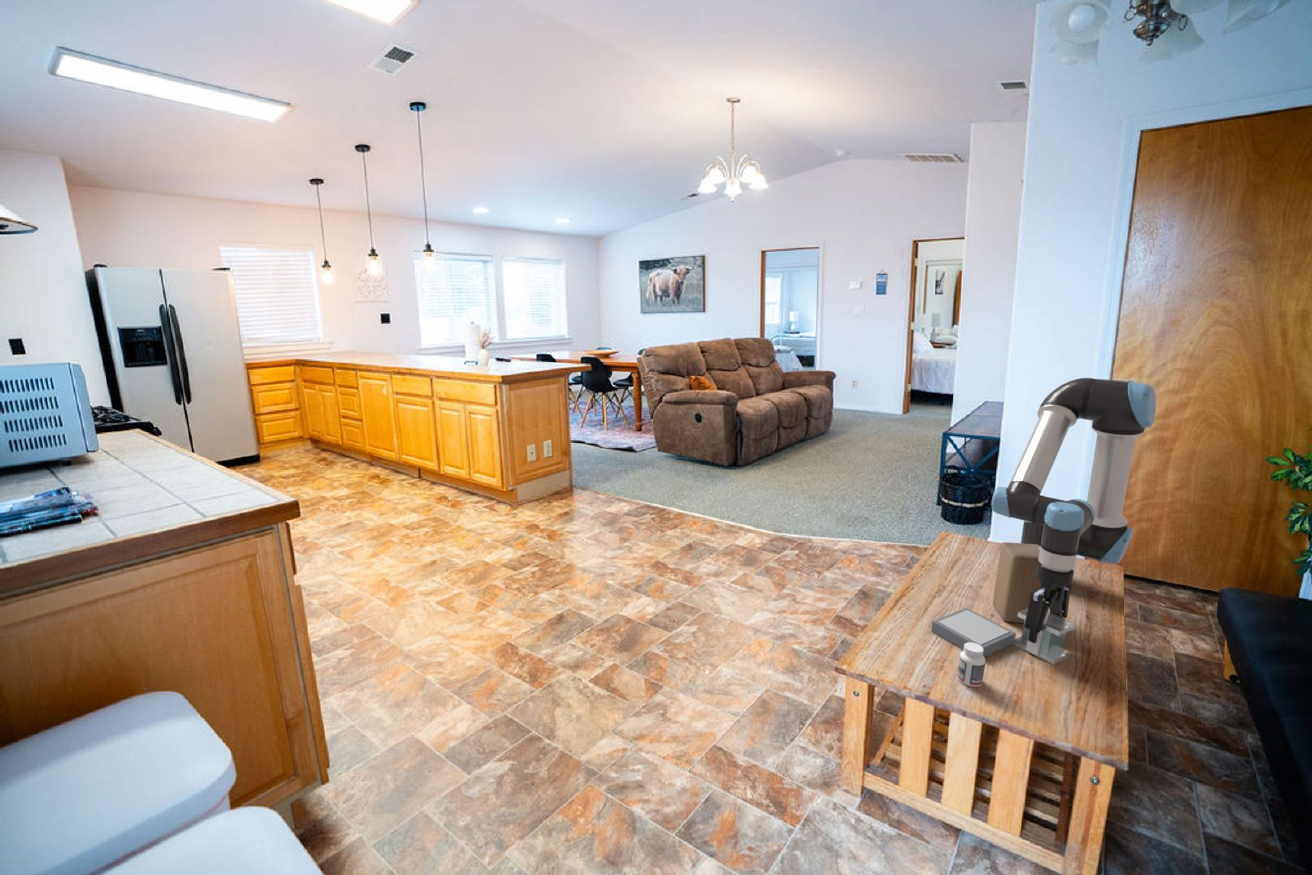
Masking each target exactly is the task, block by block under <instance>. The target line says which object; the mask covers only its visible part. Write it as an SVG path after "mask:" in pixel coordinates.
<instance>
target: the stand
mask: <svg viewBox="0 0 1312 875" xmlns="http://www.w3.org/2000/svg"><path fill="white" fill-rule="evenodd" d="M930 630H931V631H930V632H932V633H934V634H935V635H938V636H939V637H941V638H942V639H944V640H946V641H947V642H949V643H951V644H953V645H954V646H956V647H958V648H960V649H962V650H963V651H964V645H965V643H968V642H971V643H976V644H978V645H980V646H982V647H983V650H984V651H983V657H984V658H985V657H987V656H990V655H992V654H994V653H997V652H999V651H1001V650H1004V649H1005V648H1007V647H1009V646H1012V645H1014V644H1013V641H1014V640H1015V639H1016V634H1017V633H1016V632H1015V631H1013V630H1010V629H1009V628H1007V627H1005V626H1003V625H1001V624H999V623H998V622H997V623H996V622H994V621H993V620H991V619H990V618H989V619H988V618H987V617H985V616H983V615H981V614H979V613H978V612H975V611H974V610H973V611H972V610H971V609H969V608H967V607H965V608H963V609H960V610H957V611H954V612H952V613H949V614H947V615H945V616H943V617H940V618H937V619H935V620H933V621H932V622H931V629H930Z"/></svg>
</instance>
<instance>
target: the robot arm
mask: <svg viewBox="0 0 1312 875" xmlns="http://www.w3.org/2000/svg"><path fill="white" fill-rule="evenodd" d="M1156 400H1157V398H1156V392H1155V389H1154V387H1153V386H1152V385H1150V384H1148V383H1141V382H1135V381H1134V380H1133V381H1132V380H1131V381H1128V380H1117V379H1116V380H1115V379H1102V378H1092V377H1080V378H1075V379H1072V380H1070V381H1066V382H1065V383H1062V384H1061V385H1059V386H1058V387H1056V388H1054V389H1053V390H1052V391H1051V392H1049V394H1048V395H1047V396H1046V397H1045V398H1044V399H1043V401H1042V402H1041V404H1040V405H1039V407H1038V409H1037V410H1038V411H1037V412H1036V413H1037V417H1038V420H1037V422H1036V425H1035V426H1034V429H1033V432H1032V433H1031V435H1030V437H1029V439H1028V441H1027V444H1026V447H1025V449H1024V451H1023V453H1022V455H1021V457H1020V459H1019V462H1018V464H1017V466H1016V468H1015V471H1014V473H1013V475H1012V477H1011V480H1009V481H1010V482H1009V484H1008V486H998V487H997V488H996V489H995V491H994V492H993V495H992V499H991V502H990V503H991V505H990V506H991V509H992V511H993V512H994V513H995V514H997V515H1001V516H1004V517H1006V518H1012V519H1016V520H1021V521H1023V526H1022V532H1021V540H1020V543H1023V544H1037V545H1039V546H1040V547H1039V550H1040V552H1039V558H1038V561H1039V562H1038V563H1037V568H1036V577H1037V578H1038V579H1039V580H1040V582H1041V583H1040V586H1039V588H1038V591H1037V592H1034V591H1032V592H1031V594H1030V603H1029V608H1028V612H1027V616H1026V620H1025V624H1024V623H1023V626H1024V627H1025V628H1027V629H1029V634H1028V640H1027V646H1026V650H1027V651H1029V652H1031V653H1032V654H1031V653H1030V654H1031V655H1033V654H1034V656H1035V655H1036V657H1037V655H1039V649H1040V644H1041V638H1042V631H1041V628H1042V625H1043V623H1044V620H1045V617H1046V615H1047V612H1050V613H1053V614H1055V615H1057V616H1059V617H1062V618H1064V619H1066V618H1067V617H1068V615H1069V614H1068V613H1069V602H1070V595H1071V594H1070V593H1071V590H1072V586H1073V578H1074V573H1075V568H1076V564H1077V556H1079V557H1082V558H1086V559H1090V560H1093V561H1097V562H1099V563H1106V564H1109V565H1110V564H1111V565H1117V564H1119V563H1120V562H1121V561H1122V559H1123V558H1124V556H1125V553H1126V551H1127V549H1128V547H1129V545H1130V542H1131V539H1132V536H1133V534H1134V528H1132V527H1131V526H1128V519H1127V518H1126V517H1125V516H1124V515H1123V512H1124V505H1125V500H1126V495H1127V488H1128V484H1129V483H1128V482H1129V478H1130V472H1131V467H1132V460H1133V456H1134V451H1135V443H1136V439H1137V438H1138V437H1139V436H1142V435H1143V434H1144V433H1145V429H1148V428H1151V427H1153V424H1154V421H1155V414H1156V410H1157V409H1156V408H1157V406H1156V403H1157V401H1156ZM1078 419H1080V420H1088V421H1092V422H1091V429H1092V430H1093V431H1094V432H1095V433H1096V439H1095V445H1094V446H1095V447H1094V452H1093V453H1094V454H1093V459H1092V465H1091V466H1092V467H1091V472H1090V478H1089V486H1088V491H1087V496H1086V497H1087V498H1086V500H1085V499H1084V500H1083V499H1081V498H1080V499H1079V498H1073V499H1069V500H1064V499H1059V498H1055V497H1054V498H1053V497H1050V496H1045V495H1042V494H1041V493H1042V491H1043V488H1044V487H1045V484H1046V482H1047V480H1048V477H1049V475H1050V472H1051V470H1052V468H1053V465H1054V463H1055V462H1056V458H1057V456H1058V455H1059V452H1060V449H1061V447H1062V445H1063V442H1064V440H1065V437H1066V435H1067V433H1068V431H1069V429H1070V427H1073V426H1074V425H1076V423H1077V421H1078ZM1044 601H1046V602H1044ZM1026 650H1025V651H1026ZM1027 651H1026V652H1027ZM1029 652H1028V653H1029Z"/></svg>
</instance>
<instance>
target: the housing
mask: <svg viewBox="0 0 1312 875" xmlns="http://www.w3.org/2000/svg"><path fill="white" fill-rule="evenodd" d="M1027 612H1028V608H1027V609H1025V610H1022V611H1020V612H1018V617H1020V618H1022V619H1024V623H1023V627H1022V633H1021V634H1022V635H1021V636H1020V637H1016V638H1015V640H1014V641H1013V644H1012V645H1014V646H1016V647H1018V648H1020V649H1022V650H1024V651H1025V652H1028V653H1030V654H1031V655H1034V654H1032V653H1031V652H1029V651H1027V650H1026V646H1027V640H1028V634H1029V629H1027V628H1025V627H1024V624H1025V620H1026V616H1027ZM1074 629H1076V623H1075V622H1072V621H1070V620H1068V619H1066V618H1064V617H1063V618H1062V617H1059V616H1057V615H1055V614H1053V613H1050V611H1048V612H1047V615H1046V617H1045V620H1044V623H1043V625H1042V628H1041V631H1042V638H1041V644H1040V649H1039V655H1037V656H1036V655H1034V656H1036V657H1037V658H1039V659H1041V660H1043V661H1044V662H1047V663H1049V664H1051V665H1053V666H1054V665H1056V664H1058V663H1060V662H1063V661H1064V660H1066V659H1068V658H1070V656H1071V652H1070V651H1068V650H1066V649H1064V645H1065V638H1066V634H1067V633H1068V632H1069V631H1072V630H1074Z"/></svg>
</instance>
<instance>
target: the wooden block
mask: <svg viewBox="0 0 1312 875" xmlns="http://www.w3.org/2000/svg"><path fill="white" fill-rule="evenodd" d="M1039 547H1040V546H1039V545H1037V544H1023V543H1021V542H1019V543H1018V542H1009V541H1007V542H1005V541H1004V542H1002V543H1001V546H1000V553H999V558H998V565H997V571H996V572H997V573H996V578H995V585H994V592H993V599H992V605H993V606H994V608H995V609H996V611H997V612H998V614H999V616H1000V617H1001V618H1002V621H1005V622H1007V623H1009V622H1010V623H1019V624H1024V619H1022V618H1020V617H1018V612H1020V611H1022V610H1025V609H1027V608H1029V603H1030V594H1031V592H1032V591H1034V592H1037V591H1038V588H1039V586H1040V583H1041V582H1040V580H1039V579H1038V578H1037V577H1036V568H1037V563H1038V562H1039V561H1038V558H1039V552H1040V550H1039ZM1044 602H1047V601H1044Z"/></svg>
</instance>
